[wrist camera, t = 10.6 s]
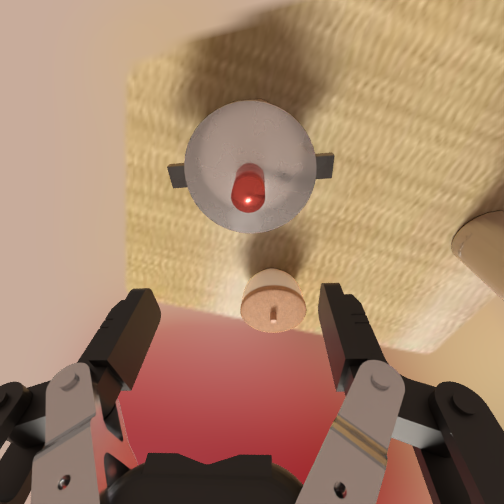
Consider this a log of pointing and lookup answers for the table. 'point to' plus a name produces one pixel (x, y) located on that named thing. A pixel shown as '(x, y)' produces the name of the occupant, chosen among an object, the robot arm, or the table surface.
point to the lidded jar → (272, 302)
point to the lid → (250, 166)
